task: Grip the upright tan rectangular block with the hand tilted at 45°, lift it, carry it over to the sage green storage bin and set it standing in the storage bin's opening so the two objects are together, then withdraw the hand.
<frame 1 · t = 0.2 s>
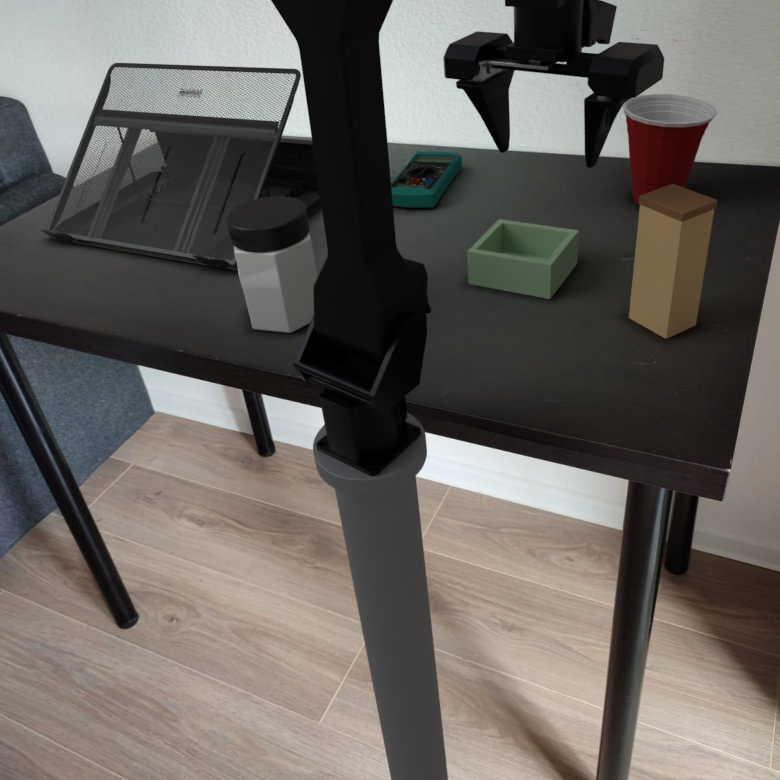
hand: (546, 158, 72), 16 cm above the table, tool pointing down, fingers open, 9 cm apart
sage green storage bin: (523, 273, 87), on the table
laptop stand: (198, 216, 110), on the table
jar: (287, 314, 86), on the table
plastic cup: (658, 201, 100), on the table
digital multimeter: (425, 189, 110), on the table
tan rectangular block: (661, 321, 77), on the table
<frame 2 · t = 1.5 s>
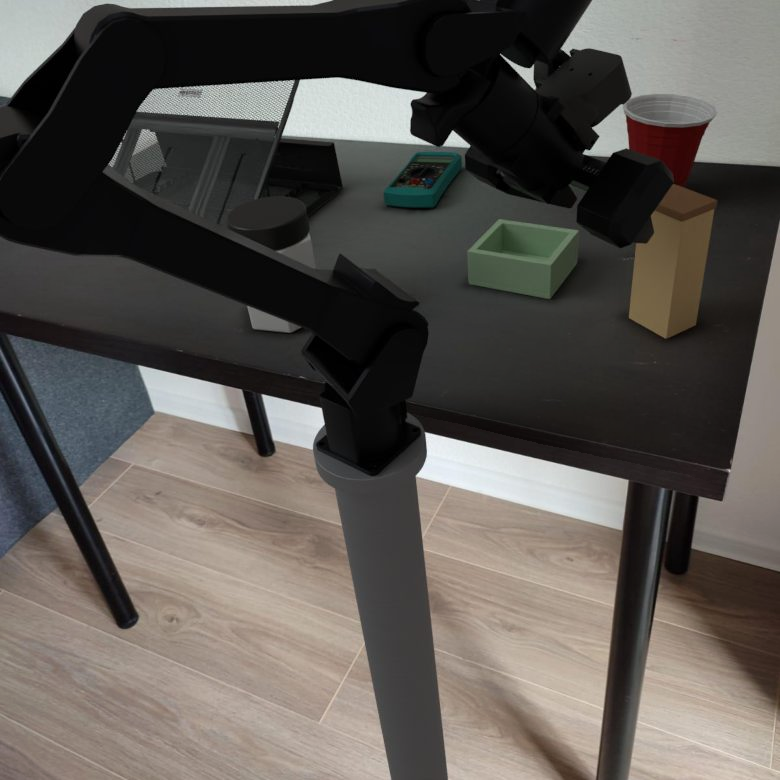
hand: (609, 219, 66), 13 cm above the table, tool tilted 45°, fingers open, 9 cm apart
nothing on the table moved.
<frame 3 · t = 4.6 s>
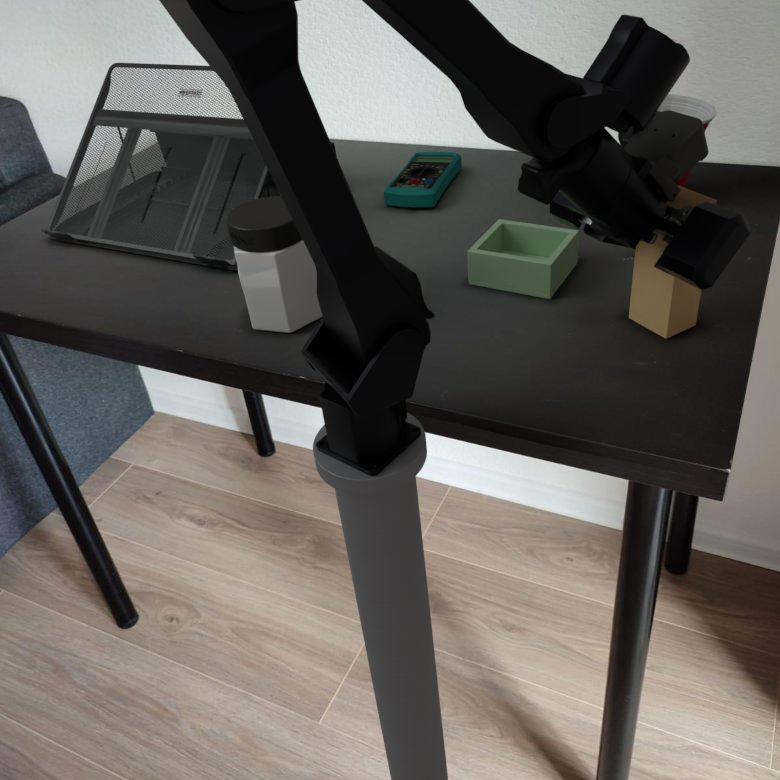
hand: (680, 257, 74), 7 cm above the table, tool tilted 45°, fingers closed on tan rectangular block, 5 cm apart
tan rectangular block: (661, 321, 77), on the table, touching gripper
everything else where it was.
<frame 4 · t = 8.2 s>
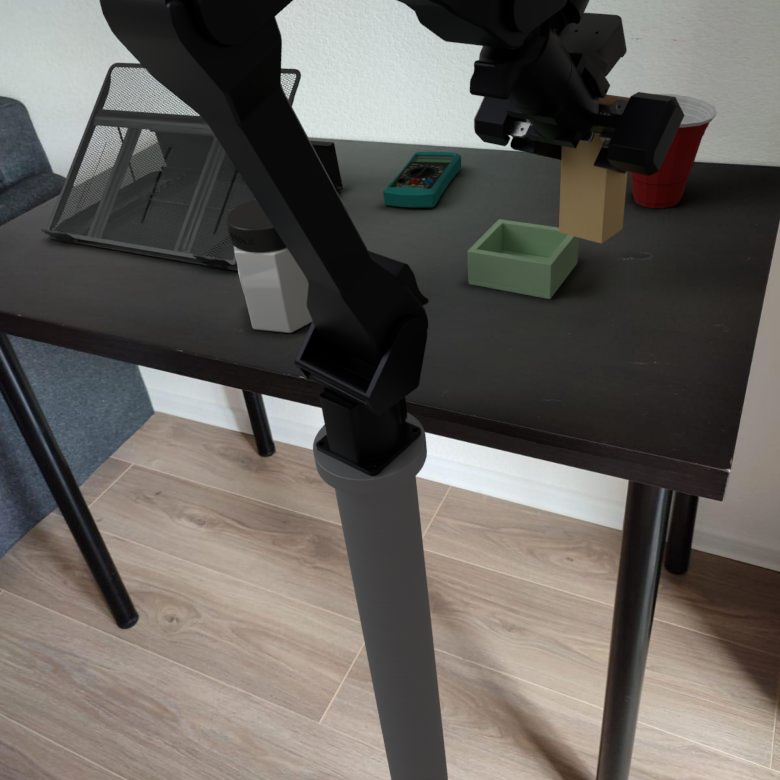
hand: (601, 163, 76), 13 cm above the table, tool tilted 45°, fingers closed on tan rectangular block, 5 cm apart
tan rectangular block: (590, 230, 79), point 7 cm above the table, touching gripper
everything else where it was.
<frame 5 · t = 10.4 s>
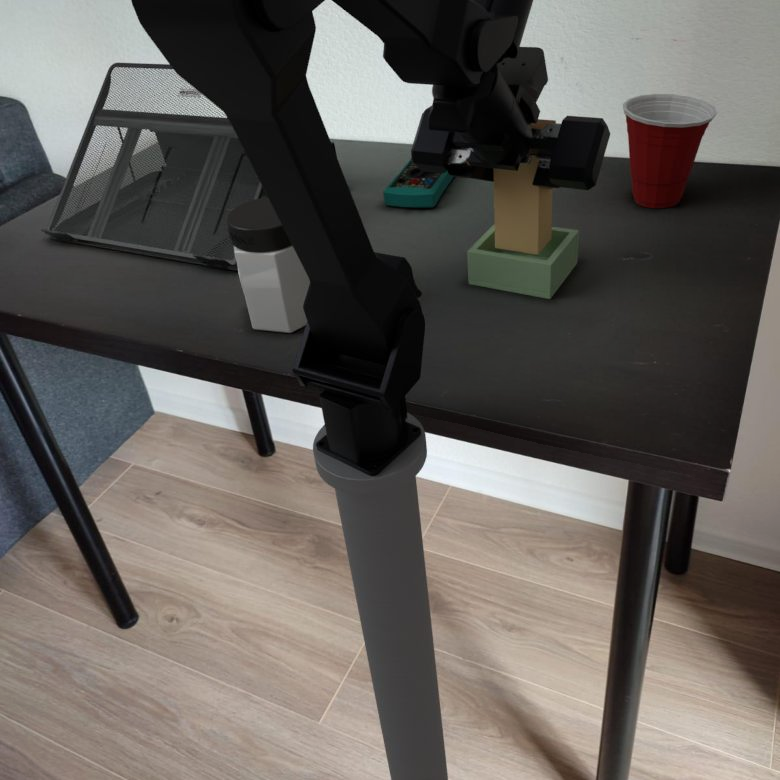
hand: (528, 181, 82), 10 cm above the table, tool tilted 45°, fingers closed on tan rectangular block, 5 cm apart
tan rectangular block: (523, 243, 85), point 4 cm above the table, touching gripper
everything else where it was.
when the fingers open (7 cm above the table, at t = 11.8 s): tan rectangular block stays where it is, resting on sage green storage bin.
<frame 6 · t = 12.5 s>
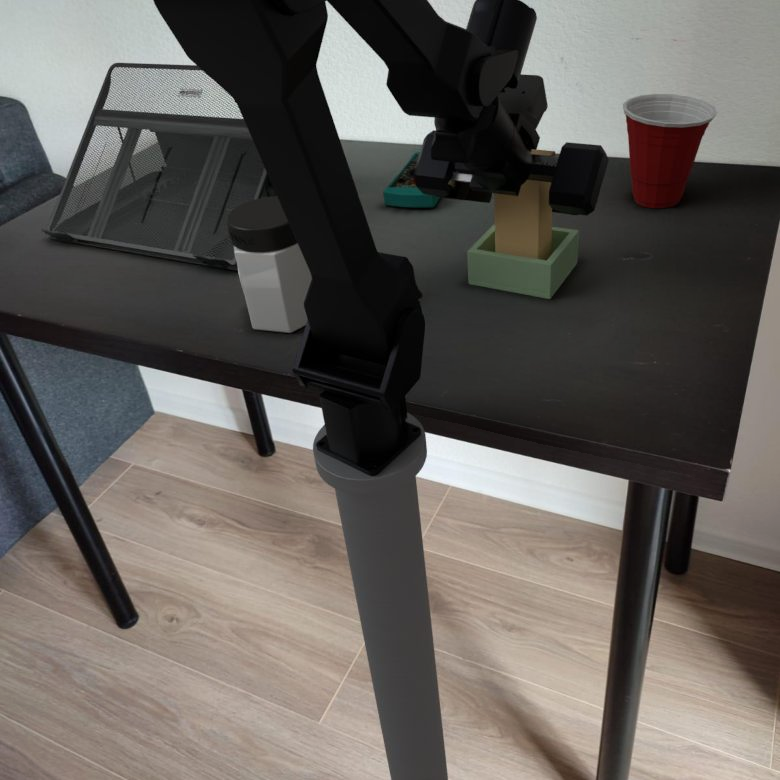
hand: (528, 203, 84), 8 cm above the table, tool tilted 45°, fingers open, 9 cm apart
tan rectangular block: (523, 268, 87), point 1 cm above the table, touching sage green storage bin
everything else where it was.
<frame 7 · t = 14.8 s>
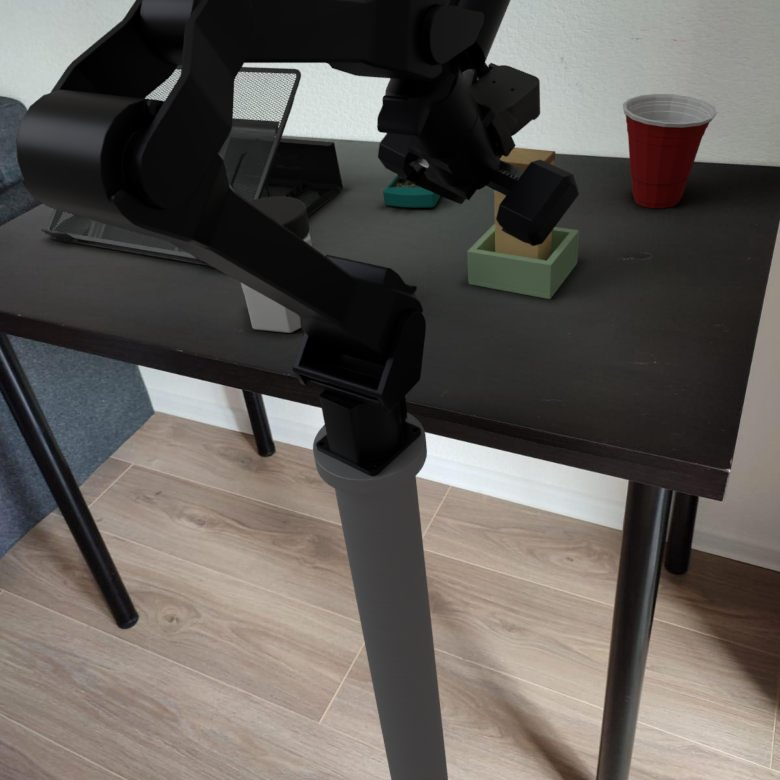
hand: (498, 218, 75), 11 cm above the table, tool tilted 35°, fingers open, 9 cm apart
nothing on the table moved.
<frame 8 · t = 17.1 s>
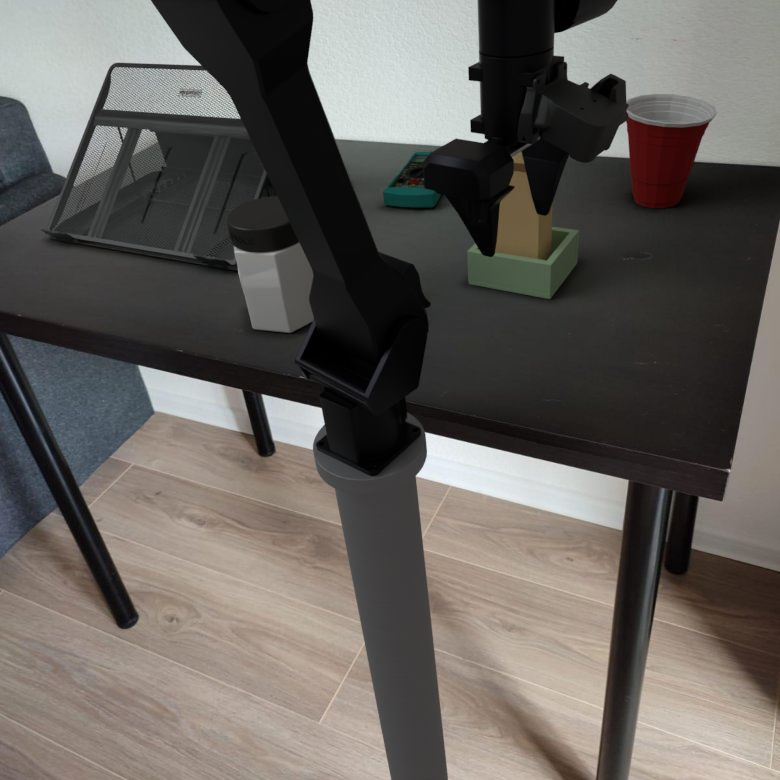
hand: (516, 234, 69), 12 cm above the table, tool pointing down, fingers open, 9 cm apart
nothing on the table moved.
at the end: tan rectangular block inside the target area in the sage green storage bin (0.0 cm from its centre), point 0.6 cm above the sage green storage bin's base; tan rectangular block tilted 0°; the gripper is holding nothing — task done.
